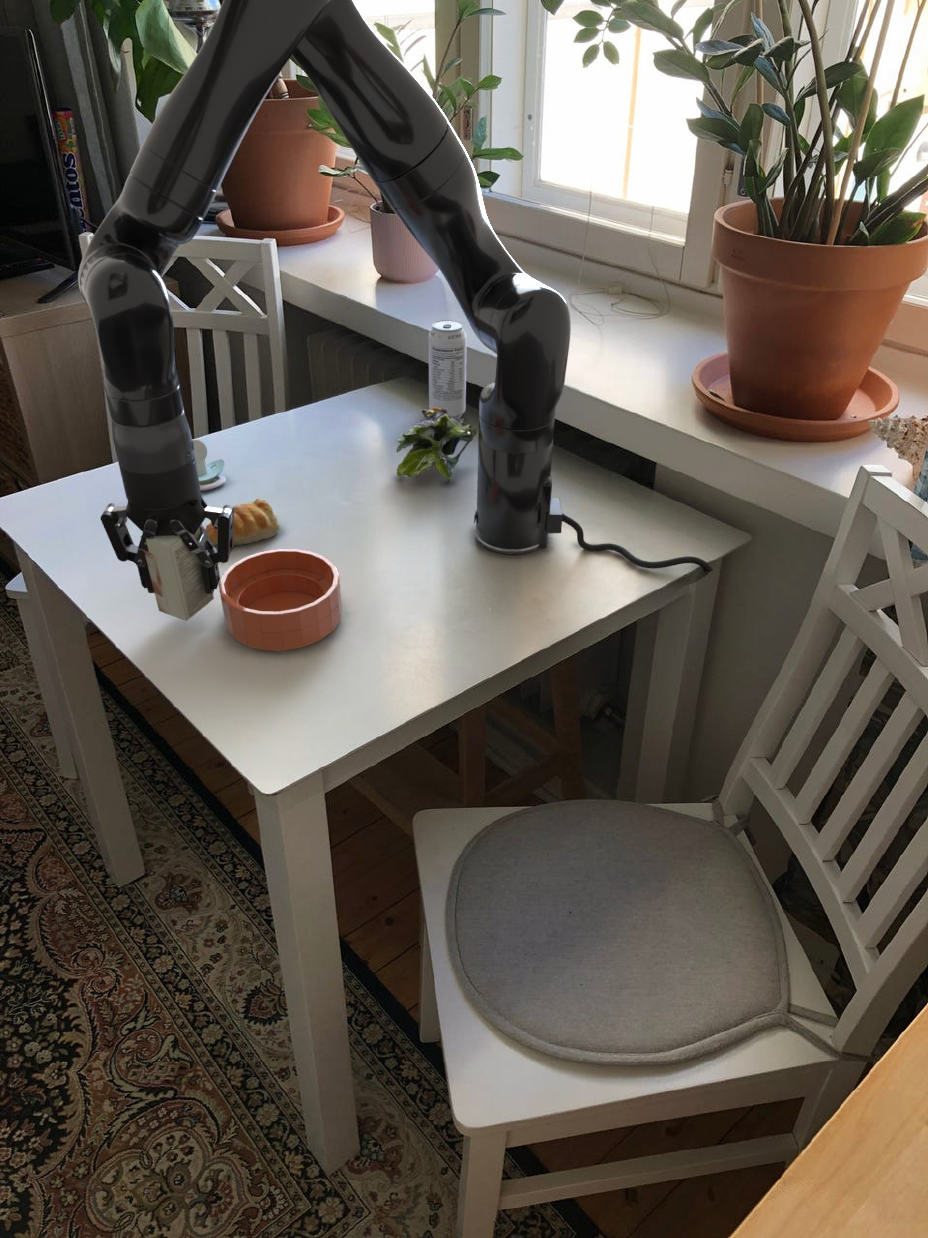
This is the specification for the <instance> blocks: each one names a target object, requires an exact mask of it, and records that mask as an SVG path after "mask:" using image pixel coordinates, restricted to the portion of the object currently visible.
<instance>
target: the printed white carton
mask: <svg viewBox="0 0 928 1238" xmlns="http://www.w3.org/2000/svg"><path fill="white" fill-rule="evenodd" d="M199 535H200V527H199V529H198V530H197V532H196V533H195V535H194V537H195V538H197V537H198V536H199ZM141 537H142V535H140V538H141ZM146 541H147V543H146V542H145V544H147V546H148V550H149V552H146V551H144V552H145V557H146V560H147V565H148V569H149V573H150V577H151V581H152V584H153V589H154V593H153V594H154V597H155V600H156V604H157V608H158V611H159V612H161V613H162V614H163V613H164V614H165V615H168V616H170V617H175V618H177V619H180V620H182V621H185V622H186V621H188V620H190V619H191V618H192V617H194V616H195V615H196V614H197V613H199V612H200V611H202V609H203V608H205V607H206V606H207V605H209V603H211V602H212V601H213V600H214V599H215V596H214V593H213V594H206V593H205V588H204V582H203V577H202V571H201V567H202V563H201V562H200V561H199V559H198V558H197V556H196V555H195V554H194V553H191V552H190V551H189V549H188V548H187V547H186V545H185V544H184V542H183V541H182V540H181V538H180V537H179V536H155V537H154V539H146Z"/></svg>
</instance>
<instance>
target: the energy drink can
mask: <svg viewBox="0 0 928 1238" xmlns="http://www.w3.org/2000/svg"><path fill="white" fill-rule="evenodd" d="M431 326H432V328H431V330H430V331H429V333H428V409H429V410H432V408H434V407H437V408H440V409H443V408H447V409H448V412H447V413H446V415H450V416H451V417H454V418H455V419H456V418H457V417H460V418H462V417H463V414H464V413H465V412H466V407H467V406H466V405H467V404H466V401H467V398H466V397H467V345H468V344H467V342H468V341H467V338H468V336H467V333H466V332H465V329H464V324H463V323H462V322H460V321H458V320H453V319H441V320H437V321H435V322H433V323H432V325H431ZM439 418H440V417H439ZM439 418H438V419H439Z"/></svg>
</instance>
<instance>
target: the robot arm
mask: <svg viewBox="0 0 928 1238" xmlns="http://www.w3.org/2000/svg"><path fill="white" fill-rule="evenodd" d="M291 57H292V58H293V59H294V60H295V61H296V63H297V64H298V65H299V67H300V68H301V69H302V71H303V72H304V73H305V75H306V77H307V78H308V79H309V81H310V82H311V84H312V86H313V87H314V88H315V90H316V92H317V93H318V95H319V96H320V98H321V100H322V102H323V103H324V105H325V107H326V109H327V110H328V112H329V114H330V115H331V117H332V119H333V120H334V122H335V124H336V125H337V127H338V130H340V131H341V133H342V135H343V137H344V138H345V140H346V141H347V144H348V145H349V146H350V147H351V149H352V150H353V152H354V154H355V156H356V157H357V159H358V160H359V162H360V163H361V165H362V166H363V168H364V169H365V172H366V173H367V175H368V176H369V177H370V179H371V180H372V182H373V184H374V185H375V186H376V188H377V189H378V191H379V192H380V194H381V195H382V196H383V198H384V200H386V202H387V204H388V205H389V207H390V208H391V209H392V210H393V212H394V213H395V214H396V216H397V217H398V219H399V220H400V221H401V222H402V224H403V226H405V228H406V229H407V230H408V232H409V233H410V234H411V236H412V237H413V238H414V240H415V241H416V242H417V244H418V245H420V247H421V248H422V250H423V251H424V252H425V253H426V254H427V255H428V257H429V258H430V259H431V260H432V261H433V263H434V264H435V265H436V267H437V268H438V269H439V271H440V272H441V274H442V275H443V277H444V279H445V281H446V282H447V284H448V286H449V288H450V289H451V292H452V293H453V295H454V297H455V299H456V301H457V303H458V304H459V306H460V309H461V310H462V312H463V315H464V316H465V319H466V320H467V322H468V324H469V326H470V328H471V330H472V331H473V333H474V334H475V336H476V337H477V338H478V340H479V341H480V342H481V343H482V345H484V346H485V348H487V349H488V350H490V351H491V352H493V353H494V354H495V355H496V365H495V377H494V382H492V383H489V384H488V385H486V386H485V387H484V388H482V390H481V392H480V395H479V401H478V402H479V403H478V440H477V441H478V444H477V445H478V446H477V448H478V450H477V481H476V482H477V483H476V485H477V487H476V511H475V513H474V516H473V525H475V526H476V527H475V539H476V541H477V542H478V543H479V545H481V546H482V547H484V548H485V549H487V550H489V551H492V552H496V553H500V554H503V555H521V554H527V553H531V552H534V551H536V550H538V549H547V548H548V544H549V534H562V528H563V523H565V524H566V525H569V526H570V527H571V528H573V529H574V531H575V532H576V536H577V537H576V541H577V544H578V546H579V547H580V548H582V549H583V550H586V551H588V552H601V551H612V552H613V551H614V552H616V553H618V554H620V555H622V556H623V557H624V558H625V559H626V560H627V561H629V562H630V563H631V564H633V565H635V566H637V567H641V568H644V569H651V570H652V569H653V570H654V569H656V570H657V569H664V568H668V567H669V568H670V567H673V566H678V565H684V564H692V565H693V564H694V565H698V566H699V567H701V568H702V569H703V570H704V571H708V572H711V571H713V567H712V566H711V565H710V564H709V563H708V562H707V561H706V560H703V559H702V558H700V557H697V556H689V555H687V556H679V557H674V558H669V559H664V560H658V561H648V560H643V559H640V558H638V557H637V556H635V555H633V554H632V553H631V552H630V551H629V550H628V549H626V548H625V547H623V546H621V545H618V544H616V543H611V542H610V543H608V542H607V543H599V544H590V543H588V542H586V541H585V538H584V537H585V536H584V535H585V534H584V530H583V528H582V526H581V525H580V524H579V522H577V521H576V520H574V518H572V517H570V516H568V515H566V514H565V513H563V510H562V509H563V508H562V502H561V498H560V497H559V498H555V497H553V498H552V491H553V490H552V489H553V480H552V473H551V472H552V462H553V461H552V458H553V446H554V433H555V432H554V431H555V419H556V417H555V416H556V409H557V405H558V403H559V402H560V399H561V397H562V395H563V392H564V388H565V382H566V375H567V374H566V373H567V368H568V367H567V366H568V360H569V359H568V358H569V352H570V343H571V333H572V332H571V330H572V329H571V328H572V327H571V325H572V324H571V323H572V322H571V314H570V309H569V306H568V303H567V302H566V300H565V299H564V297H563V295H561V294H560V293H559V292H557V291H556V290H554V289H553V288H551V287H550V286H547V285H546V284H544V283H542V282H540V281H539V280H536V279H535V278H533V277H531V276H530V275H529V274H527V273H526V272H525V271H523V269H522V268H521V267H520V266H519V265H518V264H517V262H516V261H515V260H514V259H513V257H512V256H511V255H510V254H509V252H508V251H507V250H506V248H505V246H504V245H503V244H502V242H501V240H500V239H499V238H498V236H497V234H496V233H495V231H494V230H493V227H492V225H491V224H490V221H489V219H488V216H487V213H486V208H485V205H484V200H483V195H482V190H481V187H480V183H479V179H478V176H477V173H476V170H475V168H474V165H473V163H472V161H471V159H470V157H469V156H470V155H468V153H467V151H466V149H465V147H464V145H463V144H462V141H461V140H460V138H459V137H458V135H457V133H456V131H455V130H454V128H453V126H452V125H451V123H450V122H449V120H448V118H447V116H446V115H445V113H444V112H443V110H442V109H441V108H440V106H439V105H438V103H437V102H436V100H435V99H434V98H433V96H432V95H431V94H430V92H429V91H428V90H427V89H426V88H425V86H424V85H423V84H422V83H421V82H420V81H419V79H418V78H417V77H416V76H415V75H414V74H413V73H412V72H411V71H410V69H409V68H408V67H406V65H405V64H404V63H403V62H402V61H401V59H399V58H398V57H397V56H396V55H395V54H394V52H392V51H391V49H390V48H389V47H388V46H387V45H385V43H384V42H383V41H382V40H381V39H380V38H379V37H378V35H377V34H376V33H375V31H374V30H373V29H372V28H371V27H370V25H369V24H368V23H367V21H366V20H365V18H364V17H363V15H362V13H361V12H360V10H359V8H358V7H357V5H356V4H355V2H354V0H223V1H222V3H221V5H220V7H219V11H218V13H217V16H216V17H215V19H214V22H213V24H212V26H211V28H210V30H209V33H208V34H207V36H206V38H205V40H204V41H203V43H202V46H201V47H200V49H199V51H198V52H197V54H196V56H195V57H194V59H193V61H192V62H191V63H190V66H189V67H188V68H187V70H186V71H185V73H184V74H183V75H182V77H181V79H179V81H178V83H177V84H176V85H175V87H174V88H173V89H172V91H171V93H170V94H169V95H168V97H167V98H166V99H165V102H164V103H163V104H162V106H161V108H160V109H159V111H158V113H157V115H156V116H155V118H154V120H153V122H152V123H151V125H150V128H149V130H148V132H147V134H146V136H145V138H144V140H143V142H142V145H141V147H140V149H139V151H138V153H137V155H136V157H135V160H134V162H133V164H132V166H131V168H130V171H129V174H128V176H127V178H126V180H125V183H124V186H123V189H122V191H121V193H120V194H119V197H118V198H117V200H116V201H115V203H114V204H113V206H112V207H111V208H110V210H109V211H108V213H107V214H106V215H105V217H104V219H103V220H102V222H101V223H100V225H99V227H98V228H97V229H96V231H95V232H94V234H93V236H92V238H91V240H90V241H89V243H88V245H87V247H86V249H85V251H84V253H83V256H82V259H81V262H80V264H79V269H78V274H77V284H78V288H79V292H80V294H81V297H82V299H83V301H84V302H85V304H86V305H87V307H88V310H89V311H90V315H91V318H92V323H93V324H94V328H95V331H96V336H97V341H98V345H99V348H100V352H101V356H102V357H101V358H102V360H103V364H102V369H101V371H102V373H101V374H102V382H103V388H104V392H105V393H104V394H105V397H106V401H107V406H108V411H109V415H110V420H111V431H112V440H113V444H114V449H115V453H116V457H117V458H116V459H117V463H118V467H119V472H120V476H121V480H122V485H123V489H124V494H125V498H126V499H127V504H126V505H122V506H121V505H120V506H118V504H117V503H114V502H111V503H108V504H107V506H106V508H105V509H104V510H103V513H102V514H101V515H100V521H101V524H102V526H103V528H104V530H105V533H106V535H107V538H108V539H109V543H110V544H111V545H110V546H111V547H112V549H113V551H114V554H115V556H116V558H117V560H118V561H120V562H127V561H129V562H132V563H134V564H135V566H136V567H137V571H138V575H139V581H140V584H141V586H142V587H143V589H147V593H148V594H155V593H154V589H153V584H152V581H151V577H150V573H149V569H148V565H147V560H146V557H145V552H144V551H146V552H149V550H148V546H147V544H145V542H146V543H147V541H146V539H154V537H155V536H179V537H180V538H181V540H182V541H183V542H184V544H185V545H186V547H187V548H188V549H189V551H190V552H191V553H194V554H195V555H196V556H197V558H198V559H199V561H200V562H201V563H202V567H201V571H202V577H203V582H204V588H205V593H206V594H213V595H214V592H215V590H217V589H218V588H219V582H220V580H221V574H220V568H219V564H220V563H221V564H226V563H228V562H229V560H230V555H231V553H232V551H233V548H234V545H233V527H234V508H233V507H234V506H232V505H231V504H230V505H229V504H225V505H223V507H222V508H221V507H213V506H208V504H207V502H206V501H205V500H204V498H203V496H202V491H201V490H200V486H201V485H200V484H199V478H198V473H197V467H196V461H195V455H194V443H193V440H194V439H193V437H192V433H191V429H190V425H189V421H188V419H187V418H188V417H187V416H186V415H187V414H186V412H185V407H184V402H183V396H182V389H181V384H180V380H179V374H178V371H177V367H176V362H175V361H176V352H175V351H176V350H175V349H176V348H175V346H176V345H175V327H174V317H173V308H172V304H171V303H172V302H171V299H170V298H171V297H170V295H169V291H168V288H167V286H166V283H165V280H164V279H163V278H162V277H163V274H164V272H165V270H166V268H167V267H168V264H169V263H170V261H171V259H172V257H173V256H174V254H175V253H176V250H177V249H178V247H179V246H180V245H184V244H187V243H189V242H190V241H192V239H194V237H195V236H196V234H197V233H198V231H199V230H200V228H201V226H202V223H203V222H204V219H205V218H206V216H207V214H208V213H209V210H210V208H211V206H212V203H213V202H214V200H215V198H216V196H217V193H218V191H219V189H220V187H221V185H222V183H223V181H224V178H225V176H226V174H227V172H228V170H229V168H230V166H231V164H232V161H233V160H234V157H235V155H236V153H237V151H238V150H239V147H240V145H241V143H242V141H243V139H244V138H245V135H246V134H247V132H248V131H249V128H250V126H251V124H252V123H253V120H254V118H255V117H256V114H257V113H258V111H259V110H260V108H261V106H262V105H263V102H264V101H265V100H266V97H267V96H268V94H269V92H270V91H271V89H272V87H273V86H274V84H275V83H276V81H277V79H278V78H279V76H280V74H281V72H282V71H283V69H284V68H285V66H286V64H287V63H288V62H289V60H290V58H291ZM205 519H208V520H209V521H210V523H211V522H212V526H213V527H214V529H218V546H217V545H214V544H213V543H212V542H211V541H210V539H209V537H208V533H207V531H206V530H205V529H206V527H204V526H203V523H204V521H205ZM128 520H129V521H131V522H132V523H133V524H134V525H135V526H136V527H137V528H138V529H139V530H140V531H141V532H142V534H141V536H142V537H141V536H140V540H139V543H138V545H135V543H134V541H133V539H132V536H131V534H130V531H129V529H128V527H127V522H128ZM199 527H200V535H199V536H198V537H197V538H195V537H194V535H195V533H196V532H197V530H198V529H199Z"/></svg>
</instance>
